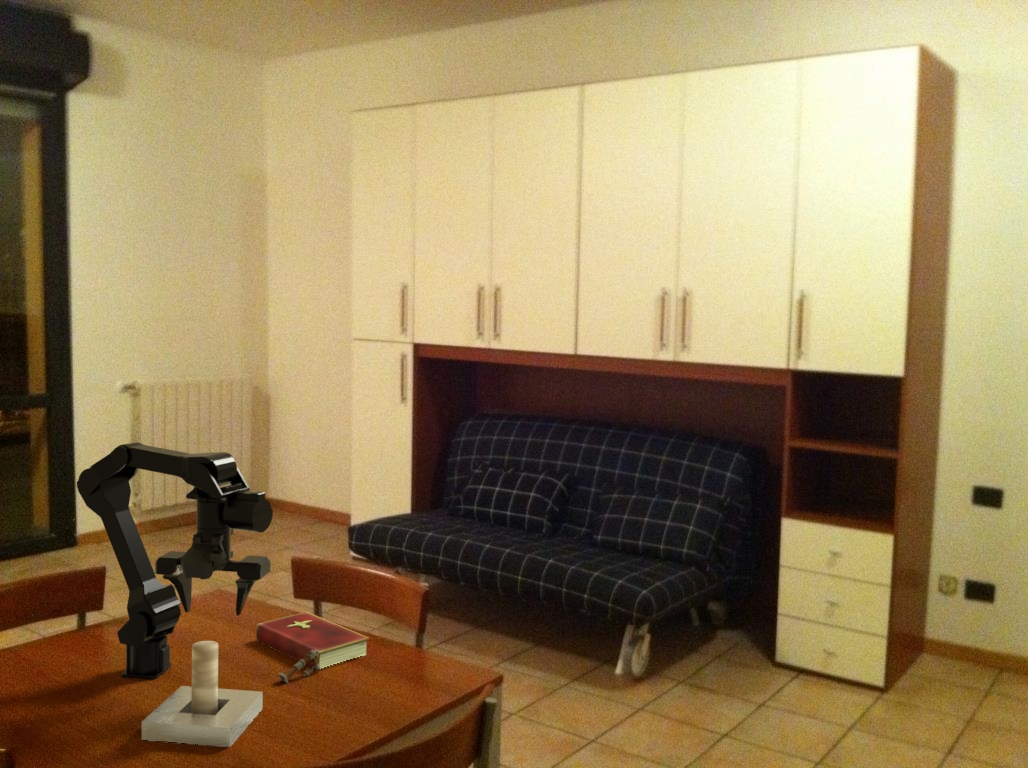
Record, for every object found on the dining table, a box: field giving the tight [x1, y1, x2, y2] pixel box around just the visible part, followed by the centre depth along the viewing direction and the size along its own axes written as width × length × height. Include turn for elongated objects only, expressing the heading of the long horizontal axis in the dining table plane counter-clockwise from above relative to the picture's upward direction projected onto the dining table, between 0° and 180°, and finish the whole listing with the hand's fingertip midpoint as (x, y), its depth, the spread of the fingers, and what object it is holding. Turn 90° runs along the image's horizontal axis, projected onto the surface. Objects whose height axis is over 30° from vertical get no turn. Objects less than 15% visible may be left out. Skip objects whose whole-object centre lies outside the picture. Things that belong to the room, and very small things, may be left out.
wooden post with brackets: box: [278, 650, 322, 684], centre depth 173 cm, size 2×8×4 cm, turn 136°
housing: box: [141, 685, 264, 748], centre depth 153 cm, size 14×14×3 cm
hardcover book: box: [255, 611, 370, 670], centre depth 188 cm, size 12×21×4 cm, turn 47°
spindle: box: [191, 640, 219, 715], centre depth 152 cm, size 4×4×13 cm
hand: (213, 613), depth 167 cm, fingers open, 9 cm apart
